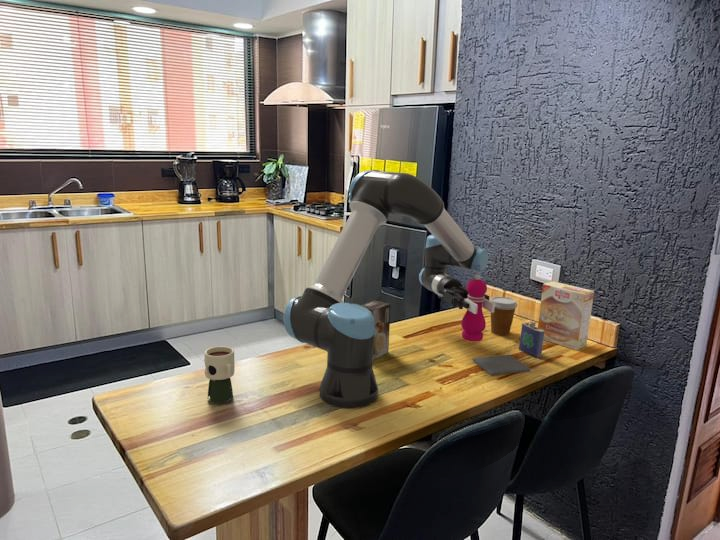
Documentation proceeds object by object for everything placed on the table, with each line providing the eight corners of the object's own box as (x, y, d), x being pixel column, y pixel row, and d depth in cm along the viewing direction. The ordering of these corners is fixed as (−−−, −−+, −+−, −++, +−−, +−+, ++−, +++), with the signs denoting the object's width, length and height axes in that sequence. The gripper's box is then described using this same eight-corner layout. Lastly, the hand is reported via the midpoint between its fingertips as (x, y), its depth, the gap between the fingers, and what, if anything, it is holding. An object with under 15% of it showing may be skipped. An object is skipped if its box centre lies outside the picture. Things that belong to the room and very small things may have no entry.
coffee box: (372, 347, 175) (374, 299, 171) (388, 352, 172) (391, 303, 168) (354, 355, 168) (356, 305, 164) (371, 361, 164) (374, 310, 161)
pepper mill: (487, 337, 168) (493, 274, 163) (479, 344, 162) (485, 278, 157) (465, 332, 172) (470, 270, 167) (456, 339, 166) (462, 274, 161)
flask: (543, 357, 172) (547, 325, 170) (535, 359, 171) (539, 326, 169) (523, 347, 180) (526, 316, 178) (516, 348, 179) (519, 317, 177)
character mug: (197, 395, 139) (195, 347, 136) (223, 388, 143) (222, 341, 140) (217, 412, 131) (216, 361, 128) (244, 404, 135) (243, 354, 132)
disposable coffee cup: (507, 339, 187) (511, 305, 184) (481, 332, 193) (485, 300, 190) (518, 332, 195) (521, 300, 192) (493, 326, 200) (496, 294, 197)
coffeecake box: (535, 337, 190) (542, 283, 185) (546, 333, 195) (552, 280, 190) (576, 351, 179) (584, 293, 175) (587, 346, 184) (595, 290, 179)
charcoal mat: (491, 375, 158) (491, 372, 158) (472, 360, 168) (472, 358, 168) (529, 371, 162) (530, 368, 161) (509, 356, 172) (509, 354, 172)
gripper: (470, 297, 184) (510, 318, 163) (421, 300, 179) (456, 323, 157) (472, 275, 183) (512, 294, 161) (423, 277, 177) (458, 298, 155)
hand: (484, 308), depth 159 cm, fingers closed on pepper mill, 5 cm apart
